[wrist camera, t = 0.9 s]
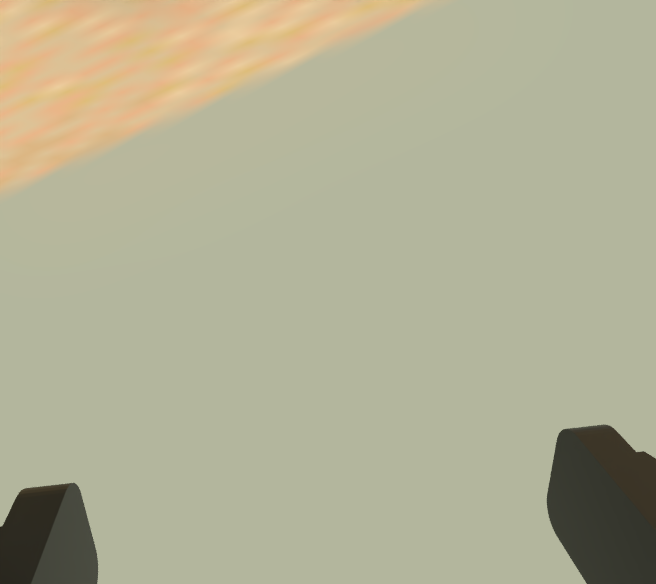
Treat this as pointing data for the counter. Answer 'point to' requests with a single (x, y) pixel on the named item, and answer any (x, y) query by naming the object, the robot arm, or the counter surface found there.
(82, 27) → the counter surface
